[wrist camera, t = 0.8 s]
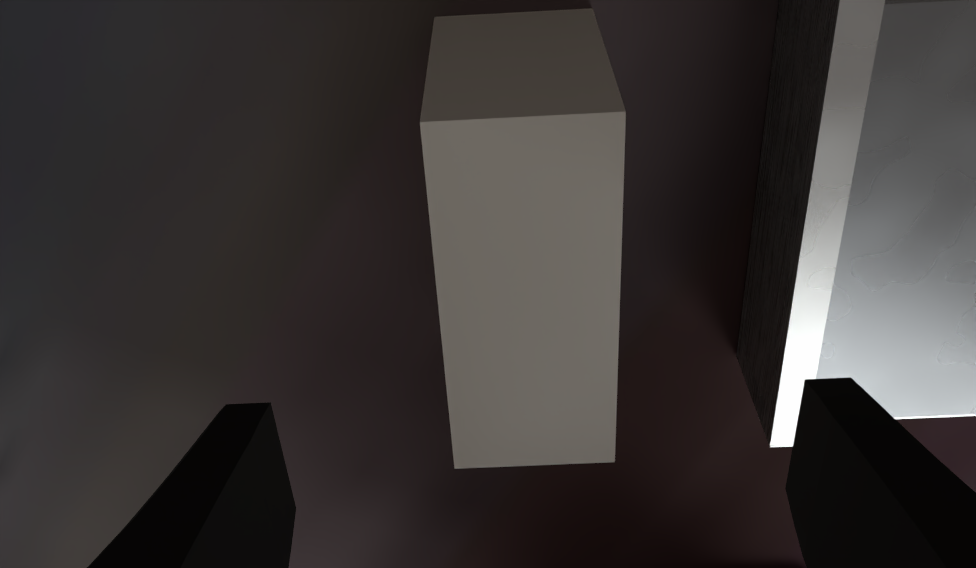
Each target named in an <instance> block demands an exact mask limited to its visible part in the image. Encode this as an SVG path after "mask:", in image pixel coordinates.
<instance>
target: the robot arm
mask: <svg viewBox="0 0 976 568" xmlns="http://www.w3.org/2000/svg"><path fill="white" fill-rule="evenodd" d="M786 492H787V496H788V500H789V504H790V509H791V513H792V517H793V521H794V525H795V529H796V533H797V536H798V540H799V544H800V547H801V551H802V555H803V558H804V561H805V564H806V566H807V568H976V493H975V492H974V491H973V490H972V489H971V488H970V487H969V486H967V485H966V484H965V483H964V482H963V481H962V480H961V479H959V478H958V477H957V476H956V475H955V474H954V473H953V472H952V471H950V470H949V469H948V468H947V467H946V466H945V465H944V464H943V463H941V462H940V461H939V460H938V459H937V458H936V457H935V456H934V455H933V454H932V453H931V452H929V451H928V450H927V449H926V448H925V447H924V446H923V445H922V444H921V443H920V442H919V441H918V440H917V439H916V438H914V437H913V436H912V435H911V434H910V433H909V432H908V431H907V430H906V429H905V428H904V427H903V426H902V425H901V424H900V423H899V422H898V421H896V420H895V419H894V418H893V417H892V416H891V415H890V414H889V413H888V412H887V411H886V410H885V409H884V408H883V407H882V406H881V405H880V404H879V403H878V402H876V401H875V400H874V399H873V398H872V397H871V396H870V395H869V394H868V393H867V392H866V391H865V390H864V389H863V388H862V387H861V386H860V385H859V384H858V383H856V382H855V381H854V380H853V379H852V378H851V377H849V378H826V379H805V381H804V387H803V393H802V398H801V404H800V410H799V415H798V421H797V426H796V432H795V438H794V443H793V449H792V455H791V460H790V466H789V472H788V477H787V483H786ZM295 512H296V506H295V502H294V498H293V494H292V490H291V486H290V481H289V477H288V473H287V469H286V465H285V461H284V456H283V452H282V448H281V444H280V440H279V436H278V432H277V427H276V423H275V419H274V415H273V411H272V407H271V403H250V404H227V405H225V406H224V407H223V408H222V410H221V411H220V412H219V413H218V414H217V415H216V417H215V418H214V419H213V420H212V422H211V423H210V424H209V425H208V427H207V428H206V429H205V430H204V432H203V433H202V434H201V435H200V437H199V438H198V439H197V441H196V442H195V443H194V444H193V446H192V447H191V448H190V449H189V451H188V452H187V453H186V454H185V456H184V457H183V458H182V459H181V461H180V462H179V463H178V464H177V466H176V467H175V468H174V469H173V471H172V472H171V473H170V474H169V476H168V477H167V478H166V479H165V480H164V482H163V483H162V484H161V485H160V486H159V488H158V489H157V490H156V491H155V492H154V493H153V495H152V496H151V497H150V498H149V499H148V501H147V502H146V503H145V504H144V505H143V506H142V508H141V509H140V510H139V511H138V512H137V514H136V515H135V516H134V517H133V518H132V519H131V521H130V522H129V523H128V524H127V525H126V526H125V527H124V529H123V530H122V531H121V532H120V533H119V534H118V535H117V536H116V537H115V538H114V539H113V540H112V542H111V543H110V544H109V545H108V546H107V547H106V548H105V549H104V550H103V551H102V552H101V553H100V554H99V556H98V557H97V558H96V559H95V560H94V561H93V562H92V563H91V564H90V565H89V566H88V567H87V568H288V567H289V559H290V552H291V545H292V537H293V528H294V520H295Z"/></svg>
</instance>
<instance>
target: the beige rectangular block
mask: <svg viewBox="0 0 976 568" xmlns="http://www.w3.org/2000/svg"><path fill="white" fill-rule="evenodd" d="M625 125H626V110H625V107H624V104H623V101H622V98H621V95H620V92H619V89H618V86H617V83H616V79H615V76H614V73H613V70H612V67H611V64H610V61H609V58H608V55H607V52H606V49H605V45H604V42H603V39H602V36H601V33H600V30H599V27H598V24H597V21H596V18H595V15H594V11H593V8H589V9H571V10H552V11H533V12H515V13H496V14H477V15H458V16H440V17H434V23H433V30H432V37H431V44H430V52H429V59H428V66H427V73H426V80H425V88H424V95H423V102H422V109H421V116H420V130H421V140H422V150H423V160H424V170H425V180H426V190H427V200H428V210H429V220H430V230H431V240H432V250H433V260H434V269H435V279H436V289H437V299H438V309H439V319H440V329H441V339H442V349H443V359H444V369H445V379H446V389H447V399H448V409H449V419H450V429H451V439H452V449H453V459H454V469H462V468H486V467H510V466H534V465H558V464H582V463H606V462H615V442H616V410H617V378H618V347H619V315H620V283H621V252H622V220H623V188H624V156H625Z"/></svg>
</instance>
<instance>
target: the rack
mask: <svg viewBox="0 0 976 568" xmlns="http://www.w3.org/2000/svg"><path fill="white" fill-rule="evenodd" d="M736 357H737V359H738V362H739V365H740V368H741V370H742V373H743V376H744V379H745V381H746V384H747V387H748V389H749V392H750V395H751V398H752V400H753V403H754V406H755V409H756V411H757V414H758V417H759V419H760V422H761V425H762V428H763V430H764V433H765V436H766V439H767V441H768V444H769V447H790V446H793V443H794V438H795V432H796V426H797V421H798V415H799V410H800V404H801V398H802V393H803V387H804V381H805V379H826V378H849V377H851V378H852V379H853V380H854V381H855V382H856V383H858V384H859V385H860V386H861V387H862V388H863V389H864V390H865V391H866V392H867V393H868V394H869V395H870V396H871V397H872V398H873V399H874V400H875V401H876V402H878V403H879V404H880V405H881V406H882V407H883V408H884V409H885V410H886V411H887V412H888V413H889V414H890V415H891V416H892V417H893V418H894V419H911V418H935V417H959V416H976V0H779V7H778V16H777V24H776V32H775V41H774V49H773V57H772V65H771V74H770V82H769V90H768V99H767V107H766V115H765V123H764V132H763V140H762V148H761V156H760V165H759V173H758V181H757V190H756V198H755V206H754V214H753V223H752V231H751V239H750V248H749V256H748V264H747V272H746V281H745V289H744V297H743V305H742V314H741V322H740V330H739V339H738V347H737V355H736Z"/></svg>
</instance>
